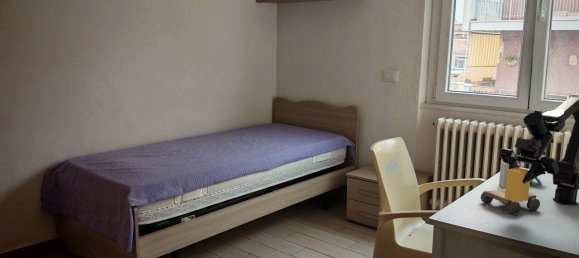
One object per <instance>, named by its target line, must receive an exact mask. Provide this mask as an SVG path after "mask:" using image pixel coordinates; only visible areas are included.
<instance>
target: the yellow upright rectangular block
mask: <svg viewBox="0 0 579 258" xmlns="http://www.w3.org/2000/svg"><path fill="white" fill-rule="evenodd" d="M528 171H529V169H525V168H522V167H520V168H512V169H508V170H507V179H506V189H505V199H508V200H511V201H514V202H518V203H519V204H520V203H522V202H526V200H528V195H529V193H530V184H531V182H530V181H528V182H526V183H523V179H524V177H525V176H526V174H527V172H528Z"/></svg>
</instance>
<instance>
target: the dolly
mask: <svg viewBox="0 0 579 258" xmlns="http://www.w3.org/2000/svg"><path fill="white" fill-rule="evenodd" d="M505 189H506V188H504V189H503V188H500V189H494V190H493V189H492V190H484V191H483V192H482V193H481V195H480V201H481V202H482V203H484V204H487V205H489V204H491V203H492V202H493V201H494V200H496V201H499V202H502V203H504V204H507V205H506V211H507V212H508V213H510V214H512V215H517V214H518V213H519V212H520V211H521V203H520V202H519V203H518V202H514V201H511V200H508V199H505ZM526 201H527V202H526ZM526 201H525V202H526V207H527V209H528V210H530V211H533V212H536V211H538V210H539V208H540V206H541V200H539V199H538V198H537V194H535V193H530V192H529V195H528V200H526Z"/></svg>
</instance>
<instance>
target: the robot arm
mask: <svg viewBox="0 0 579 258" xmlns="http://www.w3.org/2000/svg"><path fill="white" fill-rule="evenodd" d="M571 116H572V117H573V119H574V124H573V127H572V131H571V133H570V136H569V140H568V143H567V147H566V149H565V153H564V156H563V157H562V159H561V160H558V161H556V159H555V158H553V157H549V156H545V155H546V154H547V153H546V150H547V148H548V146H549V145H550V143H551V144H553V143H554V141H555V139H554V136H553V133H560V132H561V131H562V130H563V129H564V128H565V127H566V121H567V119H569V118H570V117H571ZM523 124H524V125H525V128H526V129H527V132H528V134H529V135H530V136H531V138H530V139H528V138H521V137H517V139H516V140H515V145H514V148H517V149H518V153H519V154H516V153H515V151H514V150H513V149H509V148H505V147H503V148H501V149H500V150H499V152H498V155H499V157H500V159H501V160H503V162H504V163H506V164H509V169H512V168H521V167H519V166H518V164H519V162H521V163H524V164H527V165H530V168H529V169H528V170H529V171H528V172H527V174H526V176H525V177H524V179H523V183H526V182H528V181H530V180H532V179H533V178H535V177H537V178H538V177H540V176H542V175H546V174H550V175H552V184H553V185H555V186H556V188H555V190H554V191H555V192H554V197H552V200H553V201H555V202H557V203H559V204H560V205H563V206H567V205H568V206H570V205H571V206H572V205H574V206H575V205H577V206H578V205H579V202H578V200H577V199H578V191H579V94H578V93H576V94H575V93H573V94H570V95H569V96H568V98H567V99H566V100H565V101H563V102H562V103H561V104H560V105H559V106H557V107H556V108H555V109H554V110H550V111H549V110H548V111H546V112H542V110H534V111H533V112H530V113H528V114H527V115H525V116H524V118H523ZM533 180H534V179H533ZM533 180H532V181H533Z"/></svg>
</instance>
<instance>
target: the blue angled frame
mask: <svg viewBox="0 0 579 258" xmlns="http://www.w3.org/2000/svg"><path fill="white" fill-rule="evenodd" d="M534 180H535V181H536V182H537V183H538V185H542V182H541V180H540V179H539V178H538V176H537V177H535V178H533V179H532V180H530V184H532V185H533V186H536V184H535V183H534Z"/></svg>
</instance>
